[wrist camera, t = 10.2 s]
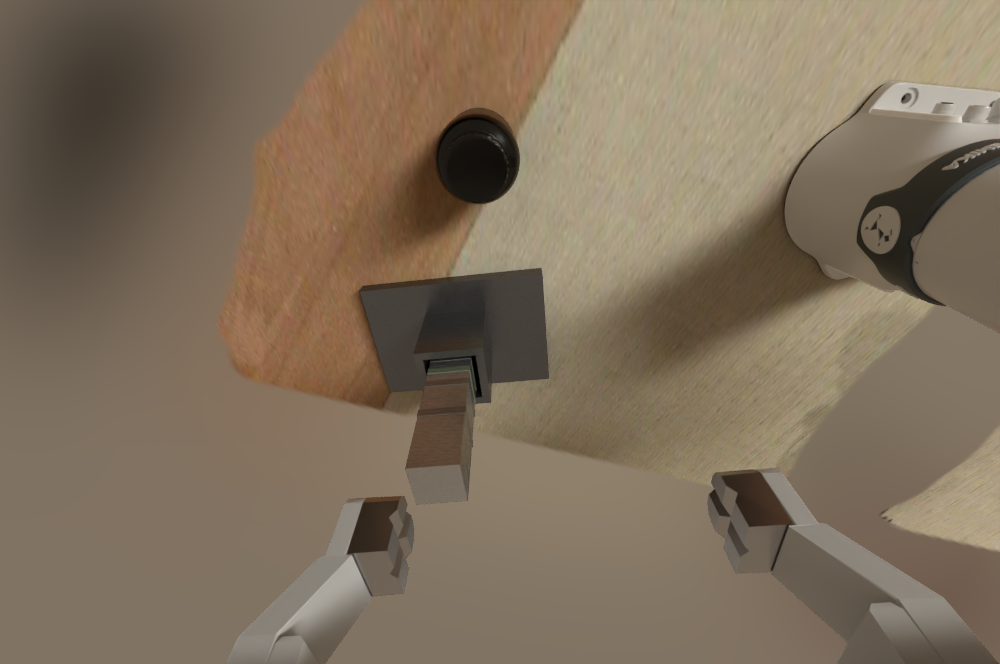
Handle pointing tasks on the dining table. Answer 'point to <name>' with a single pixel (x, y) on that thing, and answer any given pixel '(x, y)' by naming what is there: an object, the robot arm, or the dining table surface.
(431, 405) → the column
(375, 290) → the stand
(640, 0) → the dining table surface
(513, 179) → the supplement bottle
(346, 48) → the dining table surface
